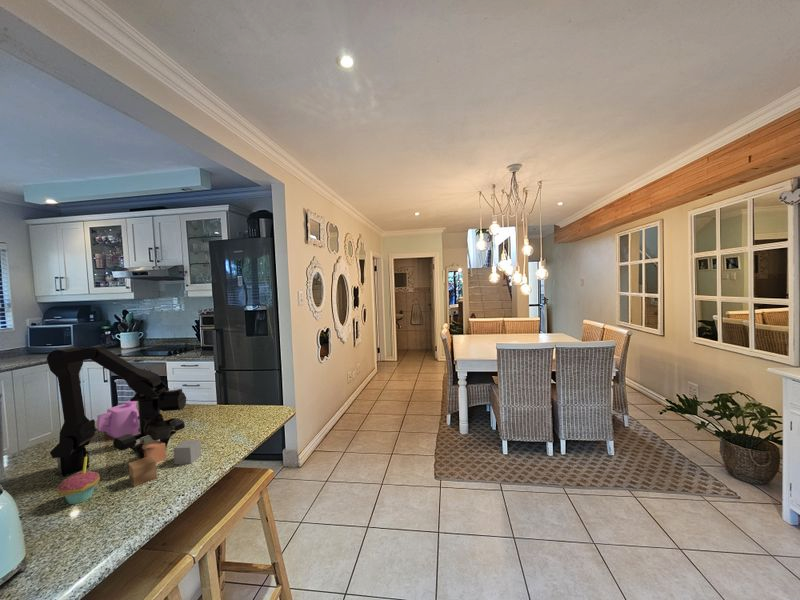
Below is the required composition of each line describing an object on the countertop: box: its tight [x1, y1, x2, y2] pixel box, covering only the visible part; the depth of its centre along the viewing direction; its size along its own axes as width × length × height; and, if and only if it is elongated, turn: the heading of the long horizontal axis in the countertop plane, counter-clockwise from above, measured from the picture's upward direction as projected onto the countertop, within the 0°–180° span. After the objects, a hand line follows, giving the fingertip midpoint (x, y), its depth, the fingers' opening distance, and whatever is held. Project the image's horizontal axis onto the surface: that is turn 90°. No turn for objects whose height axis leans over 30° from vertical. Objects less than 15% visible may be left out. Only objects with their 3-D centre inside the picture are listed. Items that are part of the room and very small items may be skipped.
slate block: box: [172, 439, 202, 465], centre depth 113 cm, size 6×6×6 cm
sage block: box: [143, 436, 172, 447], centre depth 124 cm, size 6×6×6 cm
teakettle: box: [96, 400, 140, 439], centre depth 139 cm, size 17×17×12 cm
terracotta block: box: [142, 440, 167, 464], centre depth 113 cm, size 6×6×6 cm
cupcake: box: [56, 454, 101, 505], centre depth 93 cm, size 9×8×12 cm
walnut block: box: [128, 456, 158, 488], centre depth 102 cm, size 6×6×6 cm
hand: (152, 458), depth 113 cm, fingers open, 6 cm apart
